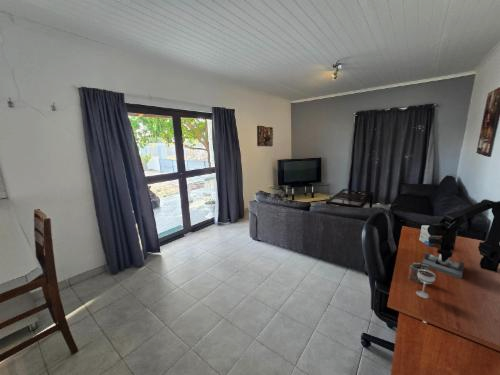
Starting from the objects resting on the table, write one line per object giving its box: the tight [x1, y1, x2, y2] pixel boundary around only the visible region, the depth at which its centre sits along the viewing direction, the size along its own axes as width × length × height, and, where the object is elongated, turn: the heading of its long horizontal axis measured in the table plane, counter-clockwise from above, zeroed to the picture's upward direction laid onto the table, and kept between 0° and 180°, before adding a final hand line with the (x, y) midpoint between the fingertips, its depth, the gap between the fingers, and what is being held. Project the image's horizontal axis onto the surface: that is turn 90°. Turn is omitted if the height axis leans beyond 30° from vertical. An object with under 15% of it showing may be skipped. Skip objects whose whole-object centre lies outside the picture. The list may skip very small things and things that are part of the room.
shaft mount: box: [421, 251, 465, 280], centre depth 125 cm, size 17×14×6 cm
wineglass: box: [415, 269, 437, 299], centre depth 103 cm, size 7×7×12 cm
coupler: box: [438, 254, 451, 266], centre depth 124 cm, size 5×5×7 cm
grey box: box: [407, 262, 430, 284], centre depth 113 cm, size 8×3×10 cm, turn 62°
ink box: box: [418, 224, 436, 246], centre depth 151 cm, size 9×5×12 cm, turn 179°
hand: (443, 260), depth 124 cm, fingers closed on coupler, 4 cm apart
